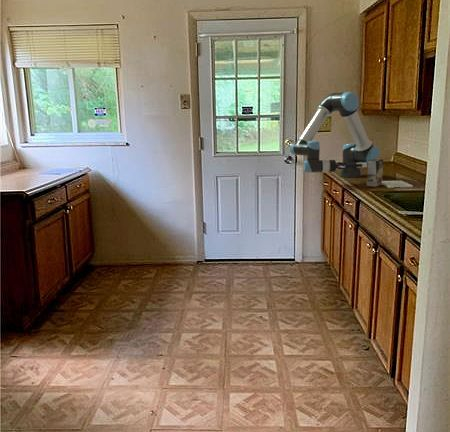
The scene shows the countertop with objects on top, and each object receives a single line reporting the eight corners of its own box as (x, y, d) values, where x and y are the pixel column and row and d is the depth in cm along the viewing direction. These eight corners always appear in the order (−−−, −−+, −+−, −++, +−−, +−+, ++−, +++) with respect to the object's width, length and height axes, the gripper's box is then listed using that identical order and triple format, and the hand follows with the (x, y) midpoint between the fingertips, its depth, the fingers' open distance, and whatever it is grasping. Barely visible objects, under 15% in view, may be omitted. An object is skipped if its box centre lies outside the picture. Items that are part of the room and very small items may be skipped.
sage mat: (378, 182, 294) (378, 181, 294) (401, 182, 294) (401, 180, 294) (388, 187, 276) (388, 186, 275) (412, 187, 275) (412, 185, 275)
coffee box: (376, 186, 280) (377, 160, 276) (366, 186, 284) (367, 160, 280) (382, 184, 287) (383, 159, 283) (372, 183, 291) (373, 158, 287)
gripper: (326, 170, 290) (363, 169, 290) (330, 173, 278) (369, 172, 277) (326, 158, 289) (364, 157, 288) (331, 161, 276) (370, 160, 275)
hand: (366, 164), depth 283 cm, fingers closed
